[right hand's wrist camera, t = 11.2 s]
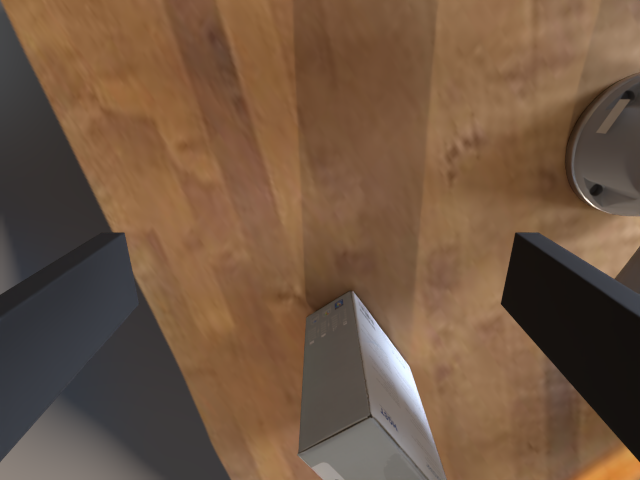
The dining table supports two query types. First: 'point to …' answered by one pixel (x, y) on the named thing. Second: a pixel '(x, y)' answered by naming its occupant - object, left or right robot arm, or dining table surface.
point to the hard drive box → (361, 402)
